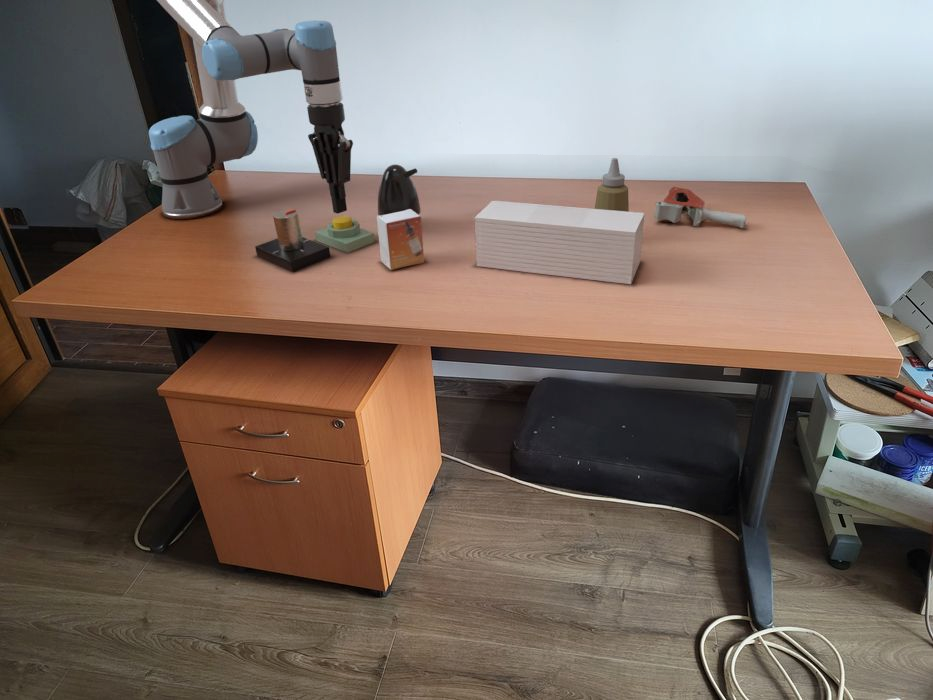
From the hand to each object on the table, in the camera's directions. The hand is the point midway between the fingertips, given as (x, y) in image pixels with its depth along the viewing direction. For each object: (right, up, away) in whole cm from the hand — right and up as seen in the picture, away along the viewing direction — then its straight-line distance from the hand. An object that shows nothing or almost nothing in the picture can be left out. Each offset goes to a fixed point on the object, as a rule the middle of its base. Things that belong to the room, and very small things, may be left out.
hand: (340, 211), depth 152 cm
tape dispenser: (+82, -2, +5) cm, 82 cm away
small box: (+15, -13, -8) cm, 22 cm away
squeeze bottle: (+61, -7, -3) cm, 61 cm away
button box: (0, -6, +4) cm, 7 cm away
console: (-10, -11, -3) cm, 15 cm away
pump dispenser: (+13, -2, +10) cm, 16 cm away
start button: (0, -3, +2) cm, 4 cm away
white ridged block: (+48, -14, -13) cm, 51 cm away
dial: (-10, -9, -4) cm, 14 cm away
